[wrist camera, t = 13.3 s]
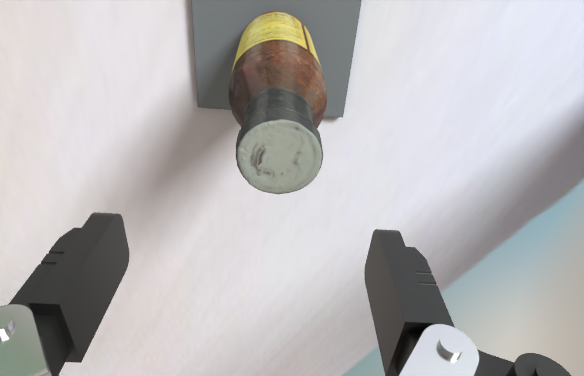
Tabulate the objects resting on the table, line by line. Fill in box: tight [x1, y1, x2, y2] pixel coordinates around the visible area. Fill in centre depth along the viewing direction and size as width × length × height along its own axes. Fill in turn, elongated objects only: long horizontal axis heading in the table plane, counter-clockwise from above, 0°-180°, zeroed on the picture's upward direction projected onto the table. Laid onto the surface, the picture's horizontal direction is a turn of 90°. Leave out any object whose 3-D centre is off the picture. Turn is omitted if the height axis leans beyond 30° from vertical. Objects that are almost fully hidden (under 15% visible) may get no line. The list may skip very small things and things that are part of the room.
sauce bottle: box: [228, 11, 327, 194], centre depth 26 cm, size 7×6×20 cm
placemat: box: [192, 0, 361, 117], centre depth 34 cm, size 14×12×1 cm
